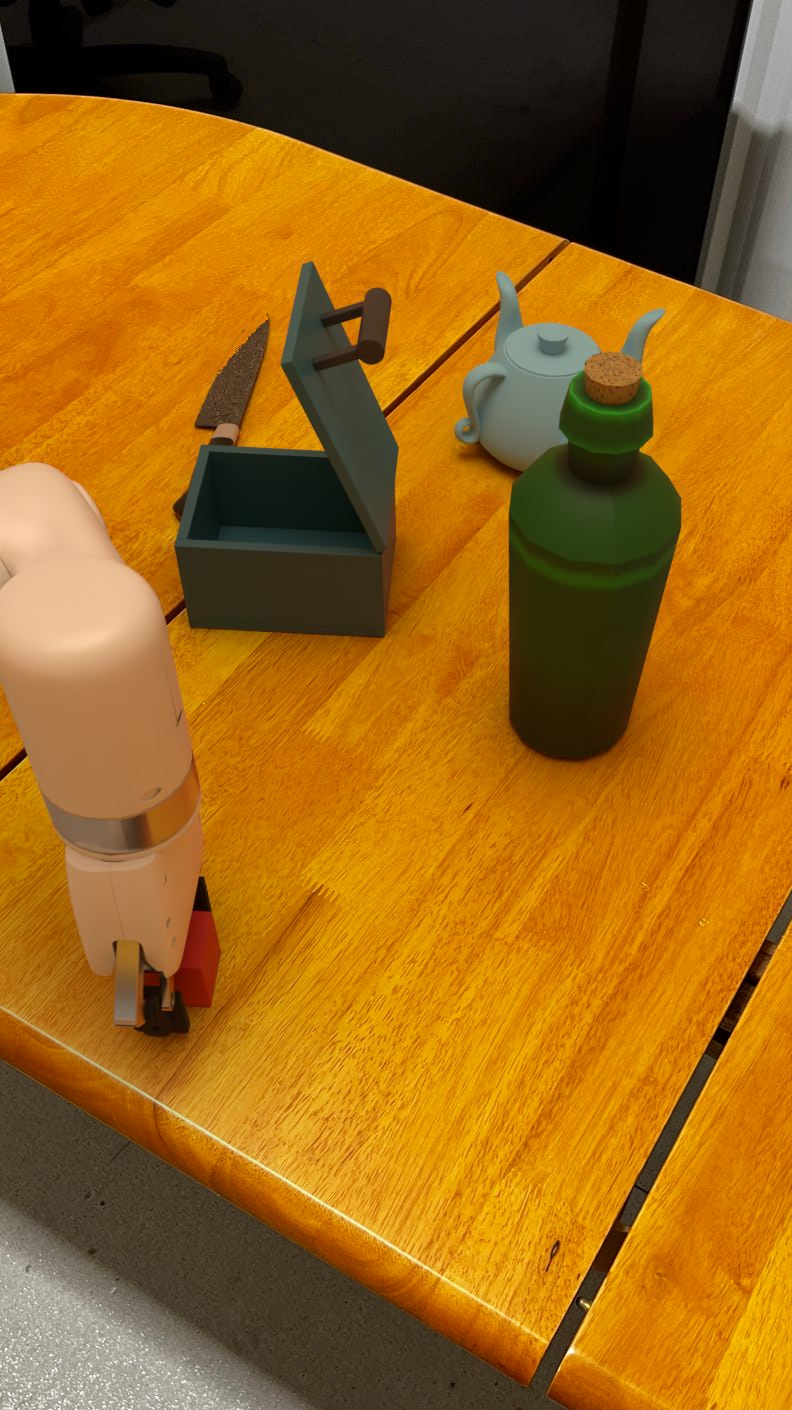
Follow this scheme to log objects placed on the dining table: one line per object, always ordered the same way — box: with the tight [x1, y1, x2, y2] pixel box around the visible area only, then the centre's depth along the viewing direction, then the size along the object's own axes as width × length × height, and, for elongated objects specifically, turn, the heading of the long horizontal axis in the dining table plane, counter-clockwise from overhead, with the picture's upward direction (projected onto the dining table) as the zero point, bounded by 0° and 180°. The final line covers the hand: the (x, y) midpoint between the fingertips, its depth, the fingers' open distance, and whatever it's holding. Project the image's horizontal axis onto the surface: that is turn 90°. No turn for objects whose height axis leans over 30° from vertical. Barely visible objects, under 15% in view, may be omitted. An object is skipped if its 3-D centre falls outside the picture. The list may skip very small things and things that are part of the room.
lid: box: [279, 260, 400, 552], centre depth 89 cm, size 15×12×6 cm
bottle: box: [508, 351, 682, 759], centre depth 83 cm, size 11×11×28 cm
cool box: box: [173, 444, 397, 638], centre depth 98 cm, size 15×12×8 cm
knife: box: [172, 319, 270, 520], centre depth 114 cm, size 32×4×1 cm, turn 175°
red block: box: [143, 911, 222, 1008], centre depth 78 cm, size 5×4×4 cm
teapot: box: [453, 270, 666, 473], centre depth 109 cm, size 15×15×10 cm
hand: (174, 969), depth 79 cm, fingers open, 7 cm apart
